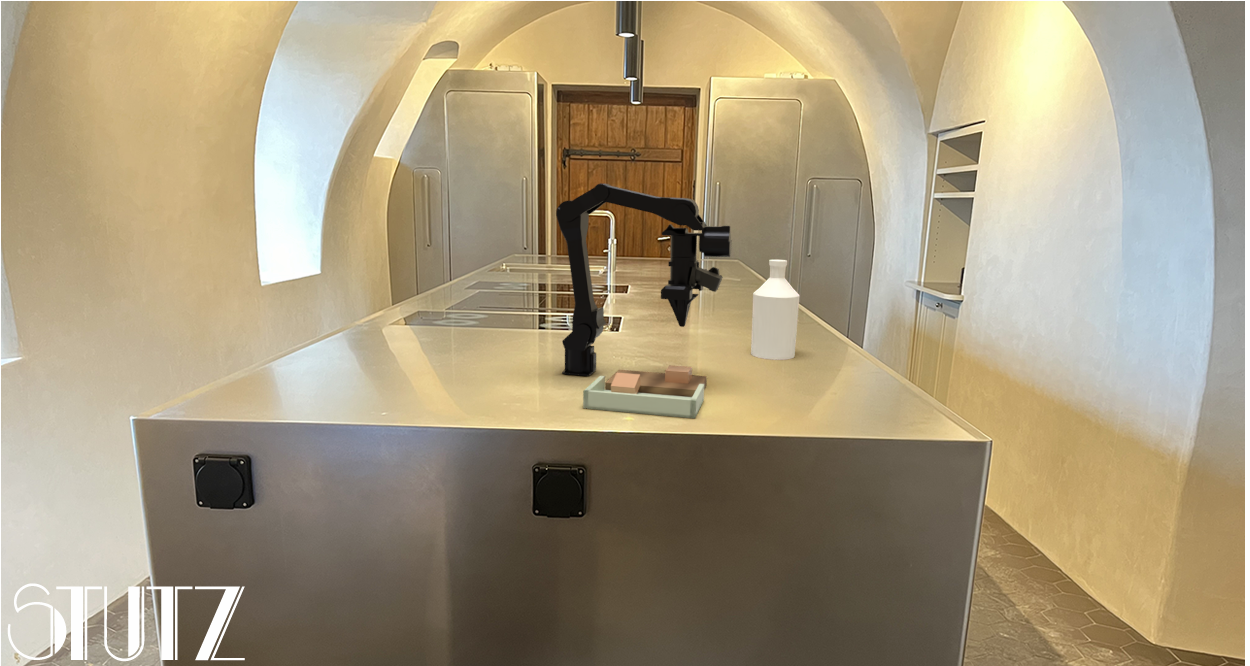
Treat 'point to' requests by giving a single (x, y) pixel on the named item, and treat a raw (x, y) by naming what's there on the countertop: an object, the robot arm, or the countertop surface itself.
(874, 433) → the countertop surface
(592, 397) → the sage tray
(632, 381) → the left tile
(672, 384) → the walnut board
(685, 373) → the right tile
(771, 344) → the bottle
